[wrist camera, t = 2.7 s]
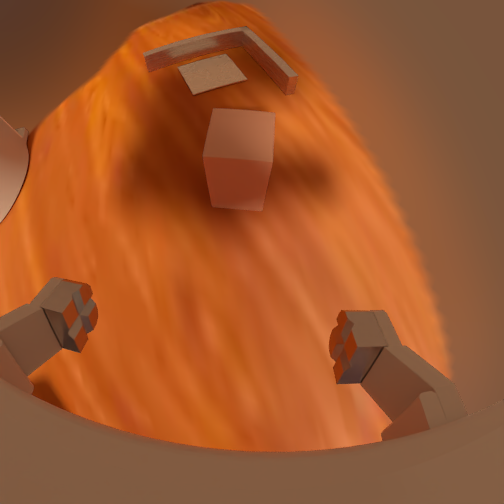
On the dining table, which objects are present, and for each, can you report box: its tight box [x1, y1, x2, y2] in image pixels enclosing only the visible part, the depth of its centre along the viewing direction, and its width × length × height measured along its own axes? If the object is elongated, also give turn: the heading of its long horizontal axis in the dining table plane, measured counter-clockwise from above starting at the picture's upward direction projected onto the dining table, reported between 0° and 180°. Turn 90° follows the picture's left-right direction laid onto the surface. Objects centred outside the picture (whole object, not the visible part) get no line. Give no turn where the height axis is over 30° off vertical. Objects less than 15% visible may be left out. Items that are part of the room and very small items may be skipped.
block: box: [202, 108, 275, 211], centre depth 21 cm, size 4×4×8 cm
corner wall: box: [143, 26, 298, 96], centre depth 28 cm, size 14×15×3 cm
